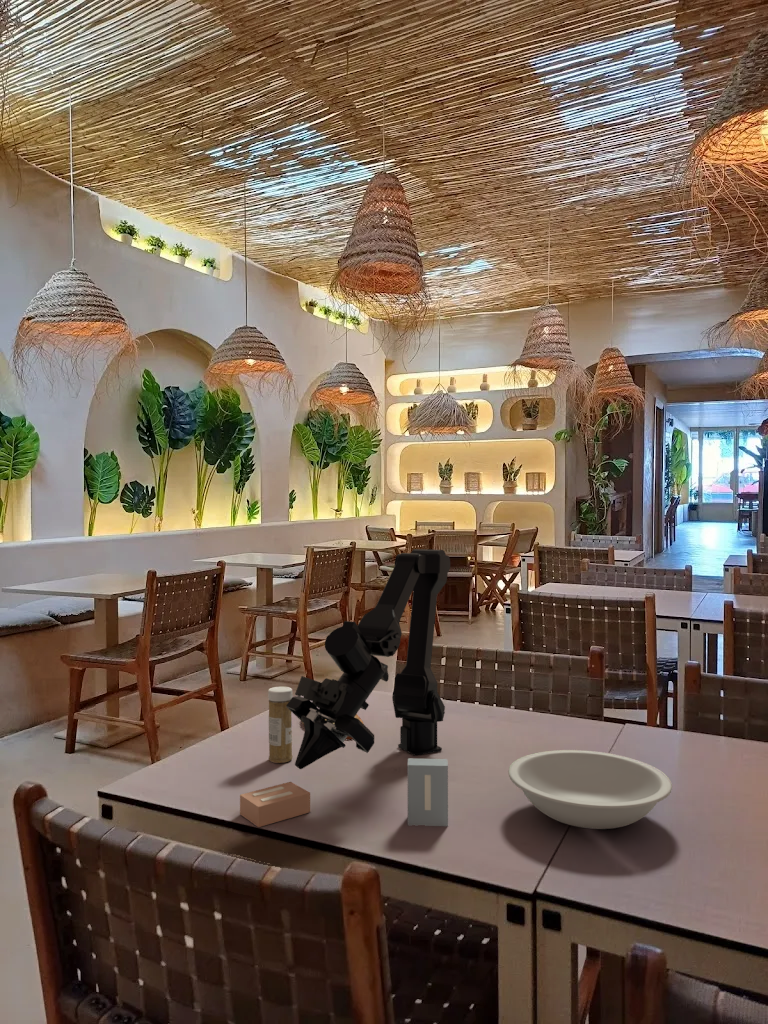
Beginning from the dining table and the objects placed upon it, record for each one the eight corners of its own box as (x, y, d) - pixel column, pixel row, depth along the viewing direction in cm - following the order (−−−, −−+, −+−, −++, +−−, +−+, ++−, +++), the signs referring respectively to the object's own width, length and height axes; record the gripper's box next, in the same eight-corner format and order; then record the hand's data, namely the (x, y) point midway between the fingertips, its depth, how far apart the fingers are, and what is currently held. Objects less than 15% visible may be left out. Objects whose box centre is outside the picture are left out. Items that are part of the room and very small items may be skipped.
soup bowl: (622, 784, 127) (622, 745, 127) (706, 846, 104) (706, 799, 104) (488, 793, 123) (488, 753, 123) (543, 861, 99) (543, 812, 99)
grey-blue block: (408, 816, 114) (408, 758, 114) (447, 817, 113) (447, 758, 113) (407, 825, 110) (407, 765, 110) (448, 826, 110) (447, 766, 110)
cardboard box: (290, 780, 120) (240, 793, 115) (310, 791, 115) (258, 806, 110) (290, 801, 120) (240, 815, 115) (310, 813, 115) (258, 828, 110)
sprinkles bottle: (296, 761, 139) (296, 689, 139) (274, 765, 136) (274, 692, 136) (285, 754, 143) (285, 684, 143) (264, 758, 140) (263, 687, 140)
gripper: (295, 648, 128) (237, 724, 121) (358, 667, 113) (296, 754, 107) (334, 687, 133) (280, 762, 126) (399, 709, 118) (342, 795, 111)
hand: (297, 767), depth 118 cm, fingers closed
